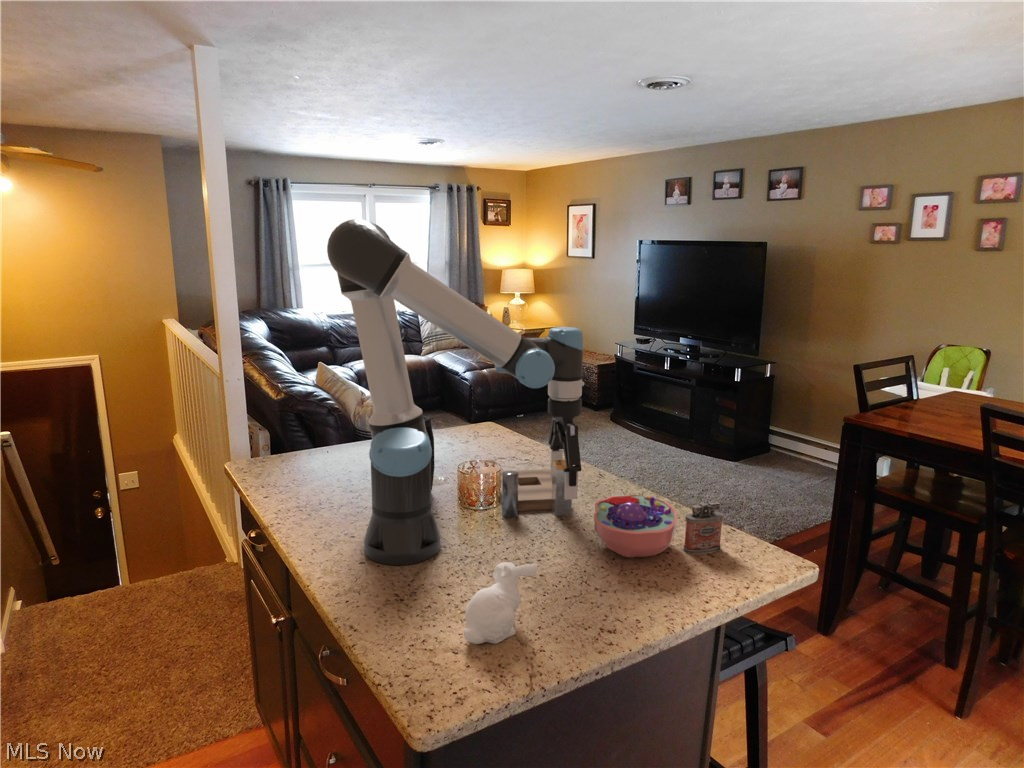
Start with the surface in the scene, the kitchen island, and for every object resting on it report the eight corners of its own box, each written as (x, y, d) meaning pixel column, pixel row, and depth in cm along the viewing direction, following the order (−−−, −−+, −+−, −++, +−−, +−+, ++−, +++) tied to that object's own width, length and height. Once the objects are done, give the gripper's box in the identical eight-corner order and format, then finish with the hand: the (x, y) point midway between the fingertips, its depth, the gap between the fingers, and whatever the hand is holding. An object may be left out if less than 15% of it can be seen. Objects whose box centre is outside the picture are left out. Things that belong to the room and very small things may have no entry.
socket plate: (571, 507, 146) (571, 497, 146) (504, 511, 144) (504, 501, 143) (551, 478, 166) (552, 469, 165) (492, 480, 163) (492, 471, 163)
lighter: (688, 555, 124) (692, 508, 122) (679, 548, 127) (683, 502, 125) (724, 551, 126) (728, 504, 124) (714, 543, 129) (718, 498, 127)
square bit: (571, 515, 143) (573, 465, 140) (554, 515, 142) (556, 465, 139) (566, 508, 146) (568, 459, 144) (551, 509, 146) (552, 460, 143)
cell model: (687, 540, 131) (691, 490, 128) (658, 582, 114) (662, 525, 111) (612, 522, 139) (614, 474, 137) (573, 558, 122) (576, 504, 120)
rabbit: (497, 606, 105) (498, 540, 103) (543, 626, 100) (546, 557, 97) (449, 641, 96) (449, 569, 93) (498, 665, 90) (499, 590, 88)
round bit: (518, 517, 141) (519, 475, 139) (503, 518, 140) (503, 476, 138) (516, 511, 144) (516, 470, 142) (500, 512, 143) (501, 470, 141)
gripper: (598, 410, 127) (595, 507, 131) (567, 384, 151) (565, 468, 155) (562, 411, 126) (560, 510, 130) (536, 386, 150) (536, 469, 154)
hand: (563, 487), depth 143 cm, fingers open, 13 cm apart
